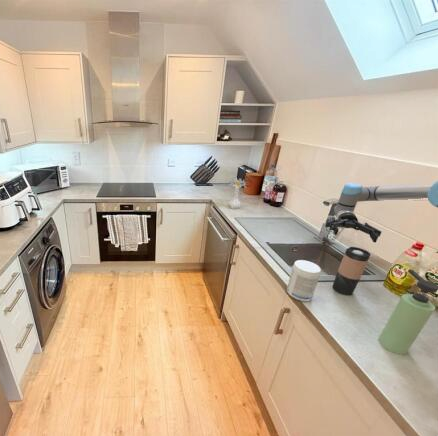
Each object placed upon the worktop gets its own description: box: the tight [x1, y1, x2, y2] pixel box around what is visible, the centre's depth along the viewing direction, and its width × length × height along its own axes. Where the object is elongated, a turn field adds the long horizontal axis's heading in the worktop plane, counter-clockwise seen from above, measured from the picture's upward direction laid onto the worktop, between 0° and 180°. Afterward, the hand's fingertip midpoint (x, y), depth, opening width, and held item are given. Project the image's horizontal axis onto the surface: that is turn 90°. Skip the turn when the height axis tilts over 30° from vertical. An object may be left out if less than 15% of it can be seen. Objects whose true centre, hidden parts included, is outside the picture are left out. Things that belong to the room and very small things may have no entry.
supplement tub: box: [286, 259, 322, 302], centre depth 99 cm, size 10×10×15 cm
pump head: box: [407, 268, 438, 295], centre depth 72 cm, size 10×4×3 cm, turn 161°
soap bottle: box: [377, 292, 436, 356], centre depth 75 cm, size 7×7×21 cm
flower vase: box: [228, 177, 247, 210], centre depth 194 cm, size 13×18×25 cm
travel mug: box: [332, 246, 371, 296], centre depth 100 cm, size 8×8×20 cm
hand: (355, 235), depth 103 cm, fingers open, 13 cm apart
